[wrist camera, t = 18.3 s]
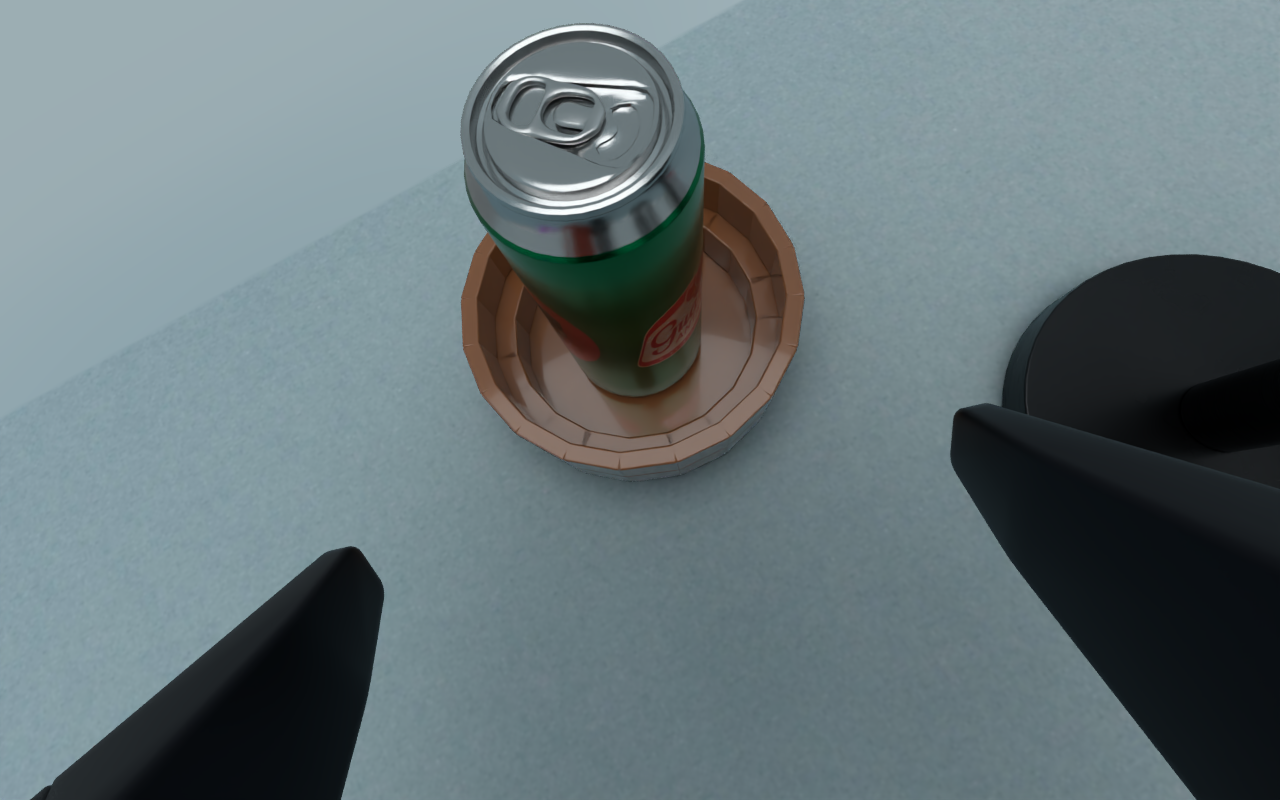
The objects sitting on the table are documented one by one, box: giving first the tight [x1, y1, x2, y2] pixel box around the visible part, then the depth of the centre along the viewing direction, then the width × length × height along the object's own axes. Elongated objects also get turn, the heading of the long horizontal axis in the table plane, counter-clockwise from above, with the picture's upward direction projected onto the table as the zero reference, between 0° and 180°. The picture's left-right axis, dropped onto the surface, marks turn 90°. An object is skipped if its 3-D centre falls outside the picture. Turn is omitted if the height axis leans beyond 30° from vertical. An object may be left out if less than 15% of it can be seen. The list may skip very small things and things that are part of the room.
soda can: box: [461, 23, 705, 397], centre depth 16 cm, size 5×5×12 cm
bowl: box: [461, 162, 805, 482], centre depth 20 cm, size 12×12×4 cm
